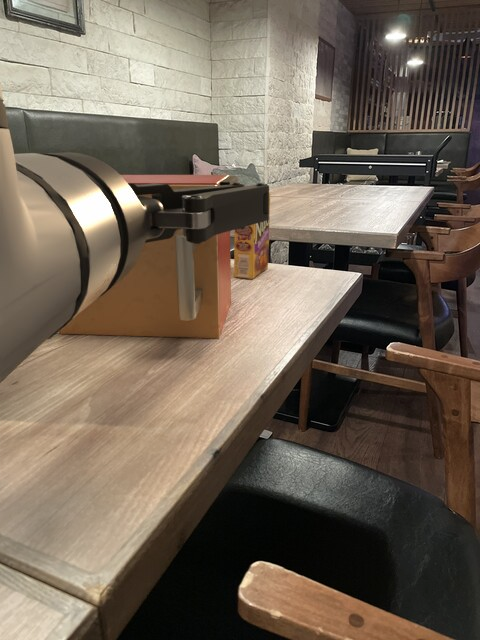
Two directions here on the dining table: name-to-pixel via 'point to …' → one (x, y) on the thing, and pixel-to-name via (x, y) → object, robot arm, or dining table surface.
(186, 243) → the door
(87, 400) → the dining table surface
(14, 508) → the dining table surface
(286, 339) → the dining table surface
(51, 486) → the dining table surface
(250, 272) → the candy box
